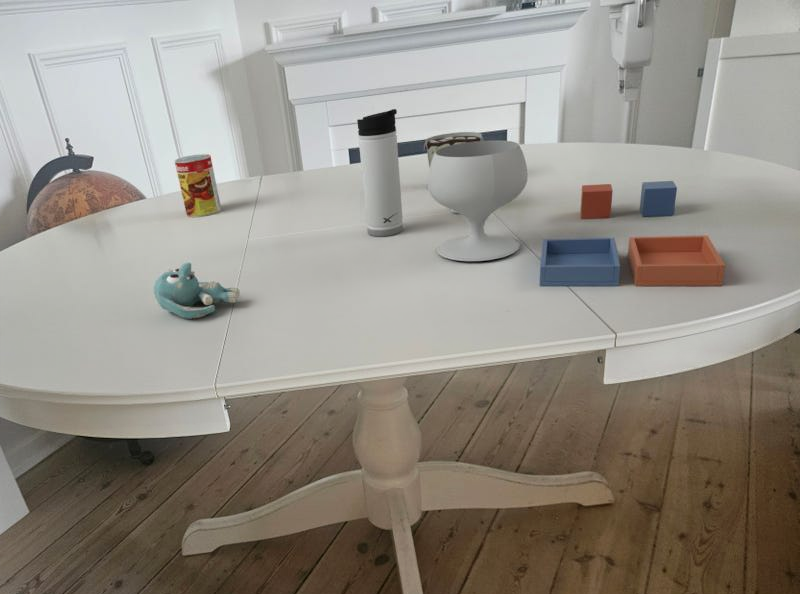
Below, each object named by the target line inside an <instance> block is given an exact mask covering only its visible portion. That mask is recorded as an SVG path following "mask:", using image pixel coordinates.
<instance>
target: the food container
mask: <svg viewBox="0 0 800 594" xmlns="http://www.w3.org/2000/svg"><path fill="white" fill-rule="evenodd" d="M475 141H485V140H484V137H483V135H482V133H481V132H476V131H458V132H449V133H441V134H438V135H437V134H436V135H433V136H431V137H427V138H426V139H425V142H424V145H423V151H426V153H427V161H428V167H429V169H430V165H431V161H432V159H433V156H434V154H435V152H436V151H437V150H439V149H441V148H444V147H447V146H451V145H455V144H460V143H467V142H475Z"/></svg>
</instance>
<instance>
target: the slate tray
mask: <svg viewBox="0 0 800 594" xmlns="http://www.w3.org/2000/svg"><path fill="white" fill-rule="evenodd" d="M539 268H540V269H539V287H619V285H620V276H621V275H620V274H621V264H620V259H619V252H618V247H617V243H616V238H615V237H583V238H582V237H581V238H580V237H579V238H543V239H542V246H541V256H540V266H539Z"/></svg>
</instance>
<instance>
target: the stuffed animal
mask: <svg viewBox="0 0 800 594" xmlns="http://www.w3.org/2000/svg"><path fill="white" fill-rule="evenodd" d="M195 273H196V272H195V271H193V270H192V263H191V262H190V261H189V262H185V263H183V264H182V265H181V266H180V267H178V268H176V269H170V268H168V269H166V270H165V271H164V272H163V273H162V274H161V275H160V276H159V277H158V278H157V279H156V280H155V282H154V285H153V294H154V297H155V300H156V302H157V304H158V305H159V306H160V307H161V308H162V309H163V310H166V311H168V312H171V313H172V314H175V315H177V316H178V317H181V318H182V319H189V320H193V319H198V318H203V317H205V316H207V315H209V314H211V313H214V312H215V311H216V307H215V305H214V303H215V304H216V303H220V302H222V301H223V302H226V303H231V304H232V303H233V304H234V303H236V302H237V300H238V298H239V297H240V293H241V292H240V289H239V288H236V287H227V288H225V287H224V286H222V285H221V283H220V282H219V281H214V280H213V281H205V282H204V281H199V279H198V278H197V277H196V275H195ZM196 301H198V302H200V303H203V304H204V305H205V306H194V305H195V303H196ZM192 318H193V319H192Z"/></svg>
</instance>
